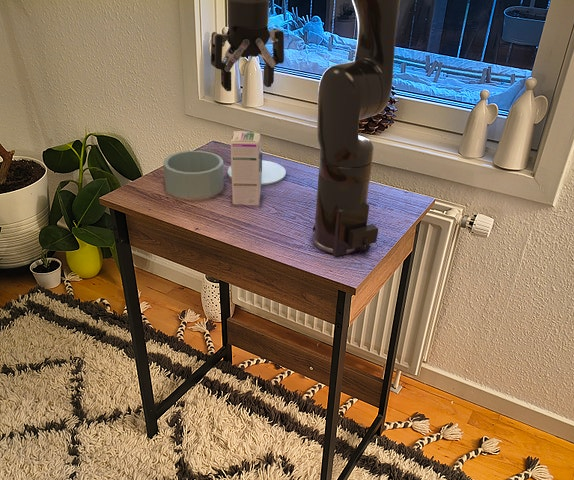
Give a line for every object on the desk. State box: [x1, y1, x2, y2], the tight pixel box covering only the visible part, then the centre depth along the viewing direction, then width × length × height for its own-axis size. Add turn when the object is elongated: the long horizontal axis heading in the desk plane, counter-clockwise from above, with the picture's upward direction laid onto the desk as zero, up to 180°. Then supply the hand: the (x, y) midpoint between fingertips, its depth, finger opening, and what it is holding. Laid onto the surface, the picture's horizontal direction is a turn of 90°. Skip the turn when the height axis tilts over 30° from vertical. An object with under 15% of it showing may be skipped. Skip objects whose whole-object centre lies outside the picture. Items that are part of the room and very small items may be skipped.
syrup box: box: [230, 130, 262, 206], centre depth 120 cm, size 6×6×14 cm
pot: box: [163, 150, 225, 200], centre depth 127 cm, size 13×13×6 cm
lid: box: [227, 150, 287, 187], centre depth 134 cm, size 14×14×6 cm
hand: (247, 88), depth 114 cm, fingers open, 8 cm apart
